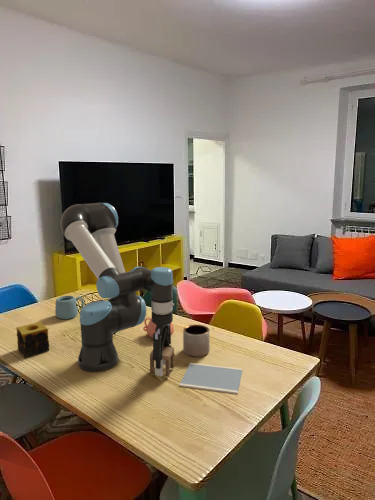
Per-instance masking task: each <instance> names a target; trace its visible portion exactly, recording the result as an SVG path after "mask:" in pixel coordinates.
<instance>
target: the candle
mask: <svg viewBox="0 0 375 500" xmlns="http://www.w3.org/2000/svg"><path fill="white" fill-rule="evenodd" d="M16 337H17V343H16V344H17V350H18V352H19V353H20V354H21V355H23V358H24V359H26V358H30V357H34V356H36V355H40V354H43V353H47V352H49V351H50V342H49V341H50V340H49V329H48V327H46V326H45V325H44V324H43V323H42V322H41V321H38V322H33V323H29V324H26V325H22V326H17V327H16Z"/></svg>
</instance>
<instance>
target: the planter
mask: <svg viewBox="0 0 375 500" xmlns="http://www.w3.org/2000/svg"><path fill="white" fill-rule="evenodd" d="M182 332H183V333H182V340H183V342H182V343H183V344H182V346H183V347H182V351H183V353H184V354H185V355H187V356H190V357H198V358H199V357H200V358H201V357H203V356H206V355H208V354H209V353H210V344H211V343H210V328H209V327H208V326H206V325H203V324H190V325H187V326H185V327H184V328H183V331H182Z"/></svg>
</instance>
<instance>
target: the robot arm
mask: <svg viewBox="0 0 375 500" xmlns="http://www.w3.org/2000/svg"><path fill="white" fill-rule="evenodd" d="M118 225H119V216H118V212H117V209H115V207H114V206H113V205H112V204H110V203H108V202H95V203H79V204H78V203H76V204H72V205H70V206H69V207H68V208H66V209H65V210H64V211H63V213H62V215H61V218H60V230H61V232H62V234H63V236H64V237H65V239H66V240H68V241H71V243H72V244H73V246H74V247H75V248H76V250H77V251H78V253H79V254H80V256H81V258H83V260H84V262H85V263H86V264H87V267H89V269H90V271H91V272H92V273H93V274H94V276H95V277H96V279H97V280H96V284H95V286H96V291H97V294H98V296H99V297H100V298H102V299H103V300H94V301H91V302H89V303H87V304H85V305H83V307H82V309H80V312H79V323H80V337H81V347H80V351H79V354H78V357H77V363H78V368H79V369H81V370H83V371H86V372H90V373H91V372H94V373H95V372H102V371H106V370H109V369H111V368H114V367H115V366H116V365H117V364H118V362H119V354H118V352H117V349H116V346H115V344H114V340H113V338H114V337H113V336H114V335H113V334H115V333H118V332H121V331H124V330H128V329H130V328H135V327H137V326H139V325H141V324H142V323H144V320H145V319H146V317H147V305H146V302H145V300H144V298H143V297H142V296H140V295H137V293H136V292H139V291H142V290H143V291H147V292H149V293H150V294H151V295H150V296H151V297H150V298H151V303H150V304H151V306H150V307H151V318H152V322H153V323H154V324H156V328H155V332H156V333H153V338H152V339H153V340H152V341H153V342H152V343H153V345H152V350H153V358H152V359H153V360H154V376H156V377H163V376H164V366H165V360H163V359H162V353H163V346H166V347H173V346H172V335H171V330H170V324H171V322H172V323H173V321H174V317H173V316H174V315H173V309H174V307H173V306H175V303H174V302H173V300H174V299H173V296H174V295H173V293H174V276H173V270H172V268H169V267H166V266H165V267H164V266H157V267H154V268H152V269H149V268H147V267H145V266H135V267H134V268H132V269H131V270H129V271H126V269H125V266H124V263H123V261H122V256H121V253H120V251H119V250H120V249H119V247H118V244H117V240H116V236H115V233H116V232H117V227H118ZM105 299H107V300H105Z"/></svg>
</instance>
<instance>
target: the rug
mask: <svg viewBox="0 0 375 500" xmlns="http://www.w3.org/2000/svg"><path fill="white" fill-rule="evenodd" d="M242 374H243V368H238V367H231V366H230V367H229V366H221V365H213V364H206V363H205V364H204V363H197V362H195V363H194V362H189V364H188V367H187V369H186V370H185V372H184V375H183V377H182V379H181V380H180V383H179V385H178V386H179V387H182V388H183V387H185V388H190V389H199V390H205V391H214V392H220V393H228V394H235V395H236V394H237V395H238V394H239V389H240V384H241V379H242Z"/></svg>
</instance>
